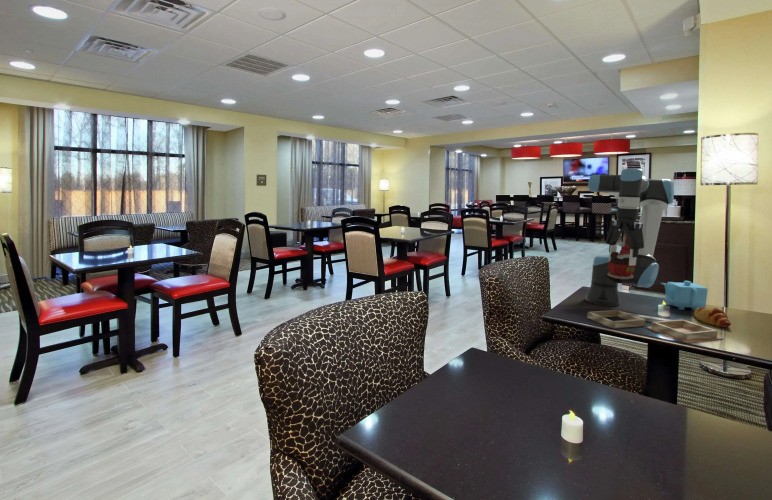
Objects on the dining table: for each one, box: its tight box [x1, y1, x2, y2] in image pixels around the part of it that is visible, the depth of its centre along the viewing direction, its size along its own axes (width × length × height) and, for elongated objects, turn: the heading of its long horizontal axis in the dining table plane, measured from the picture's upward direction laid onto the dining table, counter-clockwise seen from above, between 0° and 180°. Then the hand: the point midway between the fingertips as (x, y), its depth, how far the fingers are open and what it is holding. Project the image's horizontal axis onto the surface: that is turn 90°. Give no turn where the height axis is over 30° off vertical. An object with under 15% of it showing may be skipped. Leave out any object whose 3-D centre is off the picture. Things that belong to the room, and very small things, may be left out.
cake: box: [607, 233, 635, 279], centre depth 174 cm, size 11×9×18 cm
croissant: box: [693, 306, 732, 328], centre depth 182 cm, size 21×10×8 cm, turn 176°
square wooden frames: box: [586, 309, 724, 344], centre depth 171 cm, size 34×32×3 cm
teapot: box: [660, 280, 709, 311], centre depth 202 cm, size 18×16×13 cm
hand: (621, 262), depth 174 cm, fingers closed on cake, 9 cm apart
